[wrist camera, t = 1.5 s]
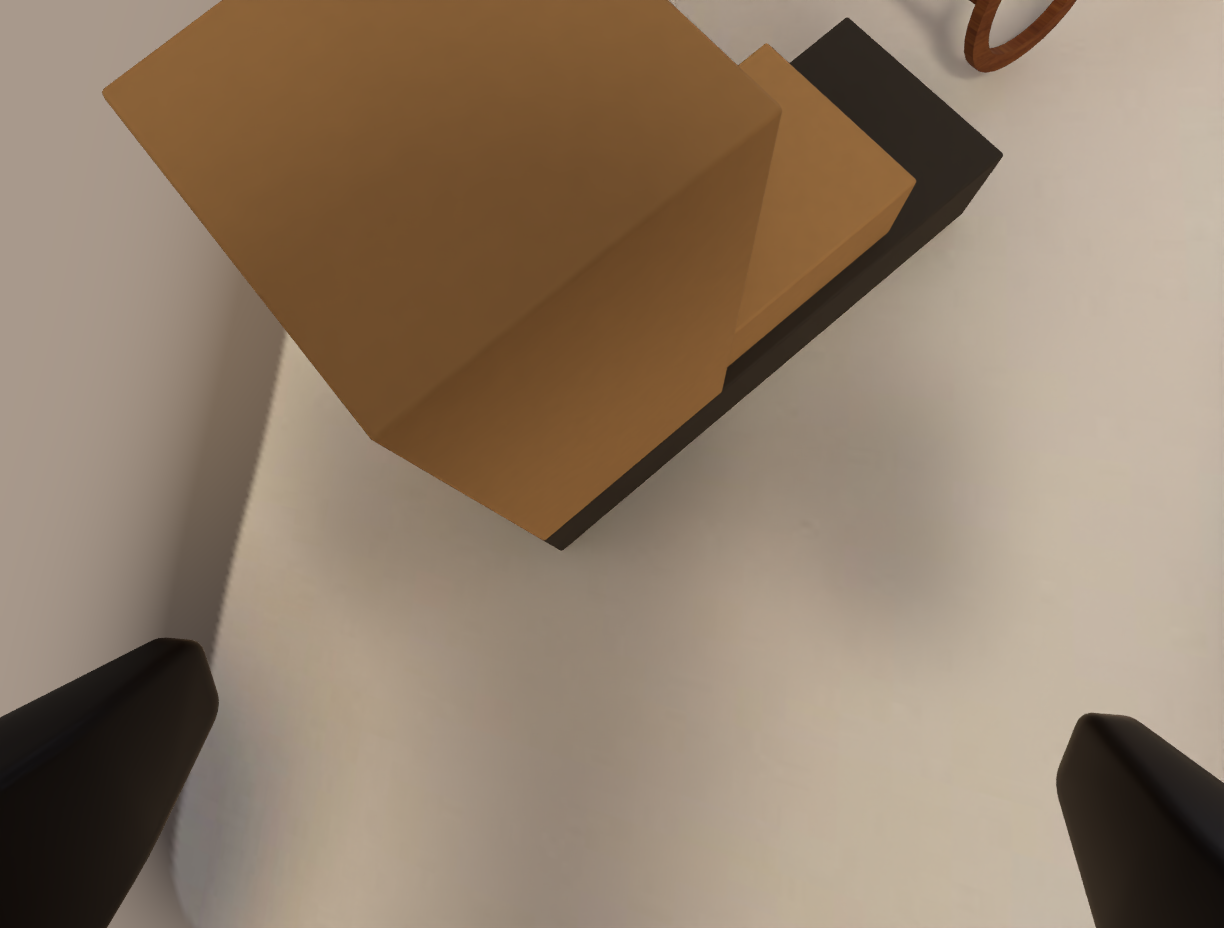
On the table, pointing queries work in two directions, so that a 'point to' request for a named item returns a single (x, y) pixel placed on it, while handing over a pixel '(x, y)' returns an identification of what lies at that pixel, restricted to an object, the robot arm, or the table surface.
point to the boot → (545, 216)
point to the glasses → (1013, 49)
